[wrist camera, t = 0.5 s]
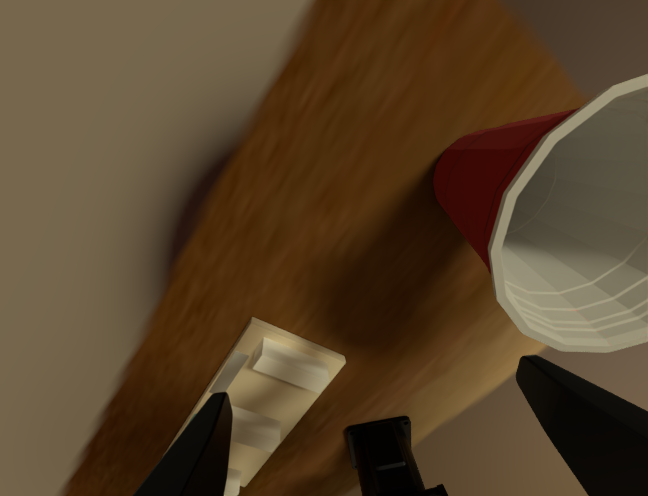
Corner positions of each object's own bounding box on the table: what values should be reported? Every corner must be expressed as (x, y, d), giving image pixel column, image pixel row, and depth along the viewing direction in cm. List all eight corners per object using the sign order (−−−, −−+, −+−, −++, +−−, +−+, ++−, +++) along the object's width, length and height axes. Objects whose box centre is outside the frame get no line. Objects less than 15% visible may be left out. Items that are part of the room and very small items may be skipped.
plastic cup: (479, 44, 18) (755, -50, 8) (572, 157, 22) (852, 205, 11) (362, 188, 21) (439, 271, 10) (461, 268, 25) (597, 392, 14)
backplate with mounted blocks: (344, 355, 27) (350, 381, 25) (246, 478, 33) (242, 509, 30) (252, 316, 25) (248, 340, 22) (162, 457, 30) (150, 489, 28)
